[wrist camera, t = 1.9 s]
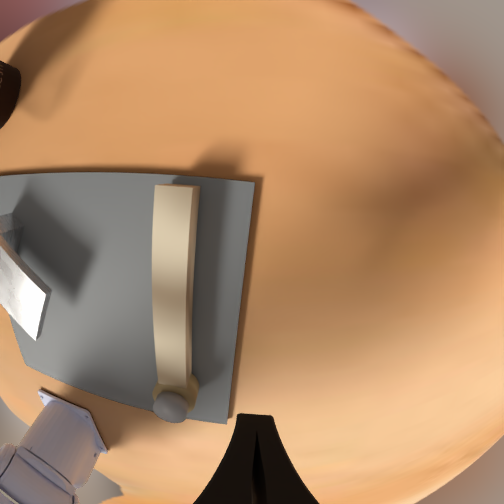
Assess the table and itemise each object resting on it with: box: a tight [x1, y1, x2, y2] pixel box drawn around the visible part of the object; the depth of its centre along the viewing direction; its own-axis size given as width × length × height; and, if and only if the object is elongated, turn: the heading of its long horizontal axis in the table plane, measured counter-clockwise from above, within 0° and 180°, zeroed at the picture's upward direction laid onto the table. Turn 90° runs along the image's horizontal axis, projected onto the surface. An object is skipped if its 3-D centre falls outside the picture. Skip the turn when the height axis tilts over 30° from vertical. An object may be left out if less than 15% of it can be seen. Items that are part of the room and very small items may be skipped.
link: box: [152, 184, 200, 413], centre depth 16 cm, size 16×3×2 cm, turn 173°
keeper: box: [0, 213, 52, 341], centre depth 15 cm, size 8×5×4 cm, turn 53°
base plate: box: [0, 172, 255, 424], centre depth 16 cm, size 20×23×4 cm
